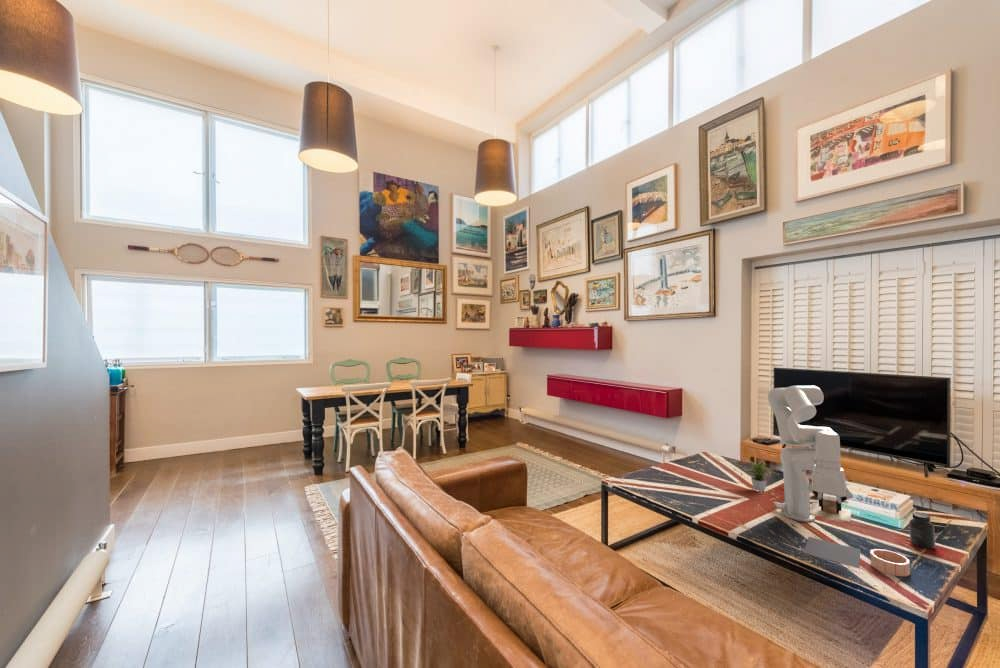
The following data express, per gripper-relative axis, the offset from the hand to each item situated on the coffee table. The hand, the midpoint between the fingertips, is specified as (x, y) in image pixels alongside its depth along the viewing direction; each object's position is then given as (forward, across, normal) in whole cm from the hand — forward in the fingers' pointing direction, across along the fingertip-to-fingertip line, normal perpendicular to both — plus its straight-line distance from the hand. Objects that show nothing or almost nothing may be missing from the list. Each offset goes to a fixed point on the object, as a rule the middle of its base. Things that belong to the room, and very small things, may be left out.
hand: (830, 510), depth 154 cm
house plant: (+18, -34, +55) cm, 67 cm away
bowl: (+17, +16, -1) cm, 23 cm away
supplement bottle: (+17, +26, +29) cm, 43 cm away
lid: (+1, 0, 0) cm, 1 cm away
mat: (+17, 0, 0) cm, 17 cm away
